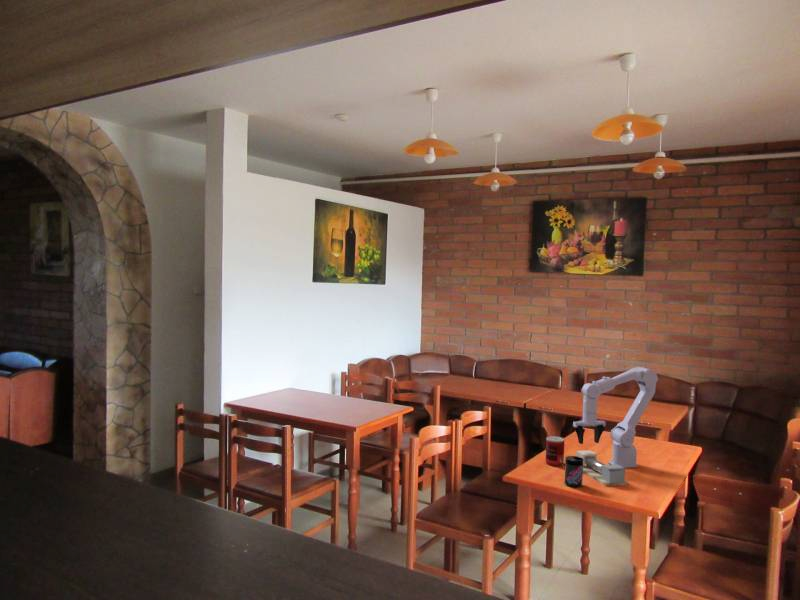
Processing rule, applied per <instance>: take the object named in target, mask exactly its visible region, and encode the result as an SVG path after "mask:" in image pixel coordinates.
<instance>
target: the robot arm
mask: <svg viewBox="0 0 800 600" xmlns="http://www.w3.org/2000/svg"><path fill="white" fill-rule="evenodd" d="M630 381H636V383H637V384H638V388H639V390H640V391H639V393H638V394H637V396H636V397H635V399H634V401H633V403H632V404H631V406H630V407H629V409H628V411H627V413H626V415H625V417H624V418H623V420H622V421H620V422H618V423H617V425H616V426H614V428H612V429H611V431H610V437H611V440H612V459H611V460H612V461H611V460H610V461H607V463H608V464H609V465H616V464H617V465H619V466H621V467H623V468H625V469H628V468H629V469H630V468H638V465H637V456H638V455H637V453H638V452H637V447H636V446H635V445H633V444H634V441H635V436H636V434H637V432H636V427H637V425H638V423H639V422H640V420H641V418H642V416H643V414H644V413H645V411H646V409H647V407H648V406H649V405H650V402H651V400H652V399H653V397H654V396H655V394H656V387H657V382H658V381H659V377H658V374H657V372H656V371H655V370H654V369H650V368H646V367H643V366H641V365H638V366H636V367H632V368H630V369H629V370H627V371H625V372H623V373H620V374H618V375H616V376H613V377H610V376H602V378H600V379H598V380H596V381H595V380H592V382H591V383H590V382H587V383H585V384H583V386H582V388H580V392H581V394H582V395H583V399H582V400H583V401H582V402H583V403H582V420H578V421H573V423H572V427H573V429H574V431H575V433H576V436H577V440H578V443H579V444H581V445H583V444H584V435H585V431H586V429H585V428H584V427H593V433H594V436H593V440H594V443H595V444H599V442H600V439H601V436H602V434H603V432H604V431H605V427H606V421H605V420H597V415H598V414H597V412H598V398H599V397H600V395H602V394H605V393H607V392H609V391H612V390H614V389H615V387H616V386H617V385H620V384H624V383H627V382H630Z"/></svg>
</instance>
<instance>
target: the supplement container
mask: <svg viewBox="0 0 800 600" xmlns="http://www.w3.org/2000/svg"><path fill="white" fill-rule="evenodd" d="M564 461H565V462H564V464H565V465H564V484H565V486H567V487H569V488H575V489H576V488H577V487H578V488H581V487H582V486H583V479H584V478H583V475H584V473H583V458H581V457H577V456H576V455H566V456H564Z"/></svg>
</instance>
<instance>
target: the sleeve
mask: <svg viewBox="0 0 800 600" xmlns="http://www.w3.org/2000/svg"><path fill="white" fill-rule="evenodd" d="M575 456H577V457H581V458H583V467H584V461H585V456H590V457H592V458H594V459H596V460H598V454H597V453H596V452H594V451H592V450H576V451H575Z"/></svg>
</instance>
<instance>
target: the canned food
mask: <svg viewBox="0 0 800 600" xmlns="http://www.w3.org/2000/svg"><path fill="white" fill-rule="evenodd" d="M564 461H565V438H563V437H561V436H554V435H550V436H547V437H546V439H545V463H546V465H549V466H551V467H552V466H553V467H561V466H562V467H563V465H564V464H565V462H564Z"/></svg>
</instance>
